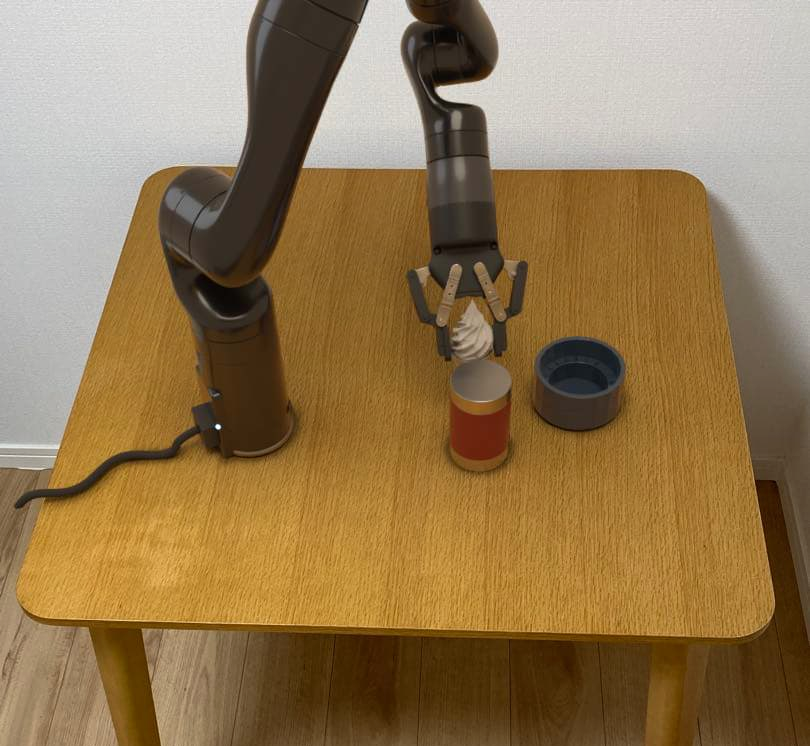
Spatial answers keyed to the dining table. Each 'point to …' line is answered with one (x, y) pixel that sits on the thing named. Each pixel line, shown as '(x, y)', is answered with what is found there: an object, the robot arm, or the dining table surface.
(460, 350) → the ice cream cone
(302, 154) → the robot arm
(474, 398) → the tin can
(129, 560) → the dining table surface
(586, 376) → the bowl
